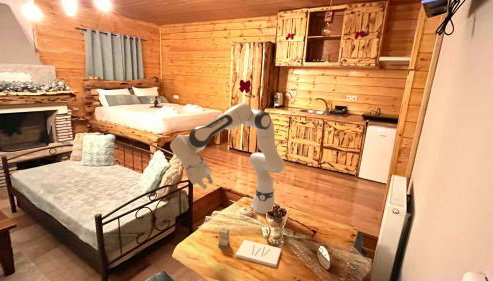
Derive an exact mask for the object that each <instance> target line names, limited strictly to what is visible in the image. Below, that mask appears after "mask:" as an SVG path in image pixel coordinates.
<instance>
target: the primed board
mask: <svg viewBox="0 0 493 281" xmlns="http://www.w3.org/2000/svg"><path fill="white" fill-rule="evenodd" d="M281 252H282V248H279V247H276V246H272V245H268V244H263V243H260V242H255V241H251V240H247V239H244V240H243V242H242V243H241V244H240V246H239V248H238V249H237V251H236V253H235V258H238V259H242V260H246V261H248V262H249V261H250V262H254V263H258V264H262V265H266V266H269V267H272V268H273V267H274V268H277V265H278V261H279V259H280V255H281Z"/></svg>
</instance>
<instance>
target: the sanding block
mask: <svg viewBox="0 0 493 281" xmlns="http://www.w3.org/2000/svg"><path fill="white" fill-rule="evenodd" d="M218 233H219V234H218V245H217V247H218V248H221V249H227V248H228V247H229V246H230V228H227V227H221V228H220V229H219V232H218Z"/></svg>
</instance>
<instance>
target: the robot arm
mask: <svg viewBox="0 0 493 281" xmlns="http://www.w3.org/2000/svg"><path fill="white" fill-rule="evenodd" d="M241 125H245V126H248V127H251V128H253V129H256V136H257V138H256V140H257V147H258V149H259V150H260V151H261V152H252V153H251V154H250V156H249V161H248V162H249V165H250V166H251V167H252V168H253V170H254V172H255V176H256V189H255V195H253V198H252V200H253V201H252V203H251V205H250V209H251V210H253V212H255V213H257V214H261V215H267V214H266V213H267V212H268V211H271V210H272V207H273V205H277V206H278V201H276V200H275V199H276V198H275V195H274V194H275V193H274V182H275V181H274V178H273V177H272V176H271V175H270V173H271V174H281V173H283V171H284V170H285V167H286V164H285V160H284V159H283V158H282V157H281V156H280V154H279V152H278V151H277V147H276V140H275V139H276V138H275V127H274V121H273V120H272V118H271V116H270V113H268V112H266V111H264V110H260V109H257V108H252V107H251V106H250V105H249V104H248V103H246V102H241V103H239V104H235V105H234V106H231V107H230V108H228V109H227V110H226V111H224V112H223V113H222V114H221V115H220V116H219V117H218V118H216V119H214V120H213V121H211V122H210V123H208V124H205V125H201V126H195V127H194V128H192V129H191V131H189V134H186V135H185V134H183V135H181V134H178V135H176V136H175V137H174V138H173V139H172V140H171V141H170V144H169V147H170V149H171V151H172V153H173V154H174V156H175V157H176V159H178V160H179V161H180V162H181V163H180V164H181V165H182V166H183V168H184V169H185V175H186V176H187V178H188V180H189V181H190V182H191V184H192V186H195V185H199V186H200V187H201V189H203V190H206V189H207V188H208V185H207V184H205V183H204V182H203V180H204V179H206V180H207V181H208V183H209V185H211V184H213V183H214V180H213V179H212V176H211V174H212V169H211V168H210V166H209V165H208V163H207V162H206V161H205V158H204V157H202V156H199V155H198V154H197V153H198V152H201V151H203V150H204V149H205V148H206V146H207V145H208V144H209V142H210V141H211V139H212V138H213V137H214V136H216V135H217V134H218V133H220V132H222V131H223V130H227V131H232V130H234V129H236V128H238V127H240V126H241Z"/></svg>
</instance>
